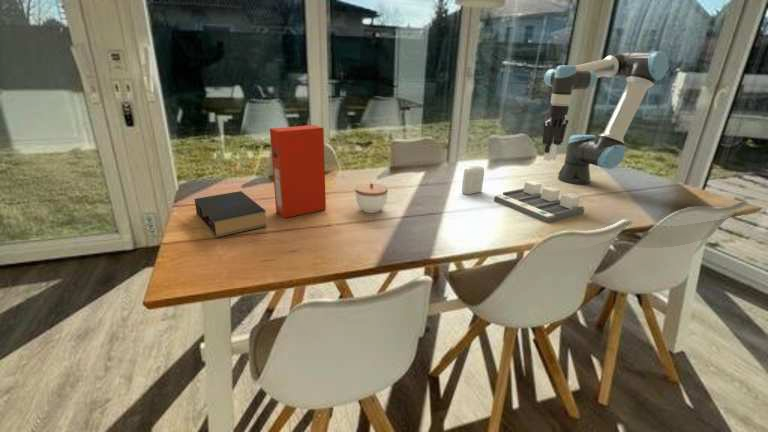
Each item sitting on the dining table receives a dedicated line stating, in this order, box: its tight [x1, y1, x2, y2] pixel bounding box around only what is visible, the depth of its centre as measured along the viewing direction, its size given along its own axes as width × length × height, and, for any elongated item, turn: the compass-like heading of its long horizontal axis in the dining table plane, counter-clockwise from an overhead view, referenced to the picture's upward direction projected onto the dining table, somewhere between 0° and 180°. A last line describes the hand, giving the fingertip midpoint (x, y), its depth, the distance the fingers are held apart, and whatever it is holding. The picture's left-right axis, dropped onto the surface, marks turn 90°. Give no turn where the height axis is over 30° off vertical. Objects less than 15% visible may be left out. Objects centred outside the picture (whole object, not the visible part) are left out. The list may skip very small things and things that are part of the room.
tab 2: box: [560, 192, 581, 209], centre depth 165 cm, size 5×5×4 cm
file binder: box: [269, 124, 327, 219], centre depth 153 cm, size 8×17×32 cm, turn 126°
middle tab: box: [541, 186, 561, 202], centre depth 173 cm, size 5×5×4 cm
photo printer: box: [461, 165, 485, 195], centre depth 184 cm, size 10×4×12 cm, turn 123°
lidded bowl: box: [354, 182, 389, 214], centre depth 160 cm, size 13×13×11 cm
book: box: [194, 190, 268, 238], centre depth 147 cm, size 17×25×7 cm
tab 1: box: [523, 180, 543, 195], centre depth 180 cm, size 5×5×4 cm
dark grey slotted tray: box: [493, 187, 586, 224], centre depth 170 cm, size 22×28×3 cm
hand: (549, 159), depth 180 cm, fingers open, 3 cm apart
